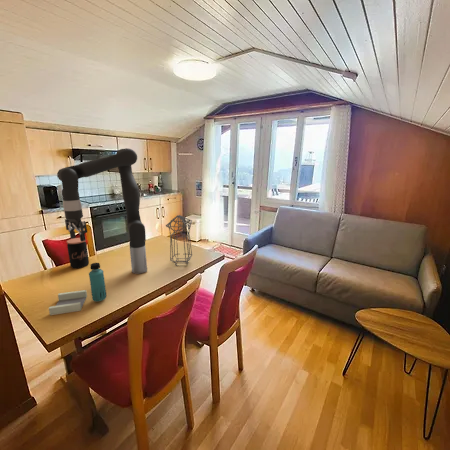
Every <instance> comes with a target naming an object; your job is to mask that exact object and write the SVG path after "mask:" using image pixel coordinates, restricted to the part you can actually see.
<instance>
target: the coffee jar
mask: <svg viewBox="0 0 450 450" xmlns="http://www.w3.org/2000/svg"><path fill="white" fill-rule="evenodd" d="M86 241H87V239H86V240H85V241H81V240H80V237H76V238H74V239H71V238H70V239H67V240H66V244H67V246H66V248H67V252H68V260H69V266H70V267H71V269H82V268H85V267H88V265H89V263H90V260H89V254H88V245H87V242H86Z"/></svg>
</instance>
